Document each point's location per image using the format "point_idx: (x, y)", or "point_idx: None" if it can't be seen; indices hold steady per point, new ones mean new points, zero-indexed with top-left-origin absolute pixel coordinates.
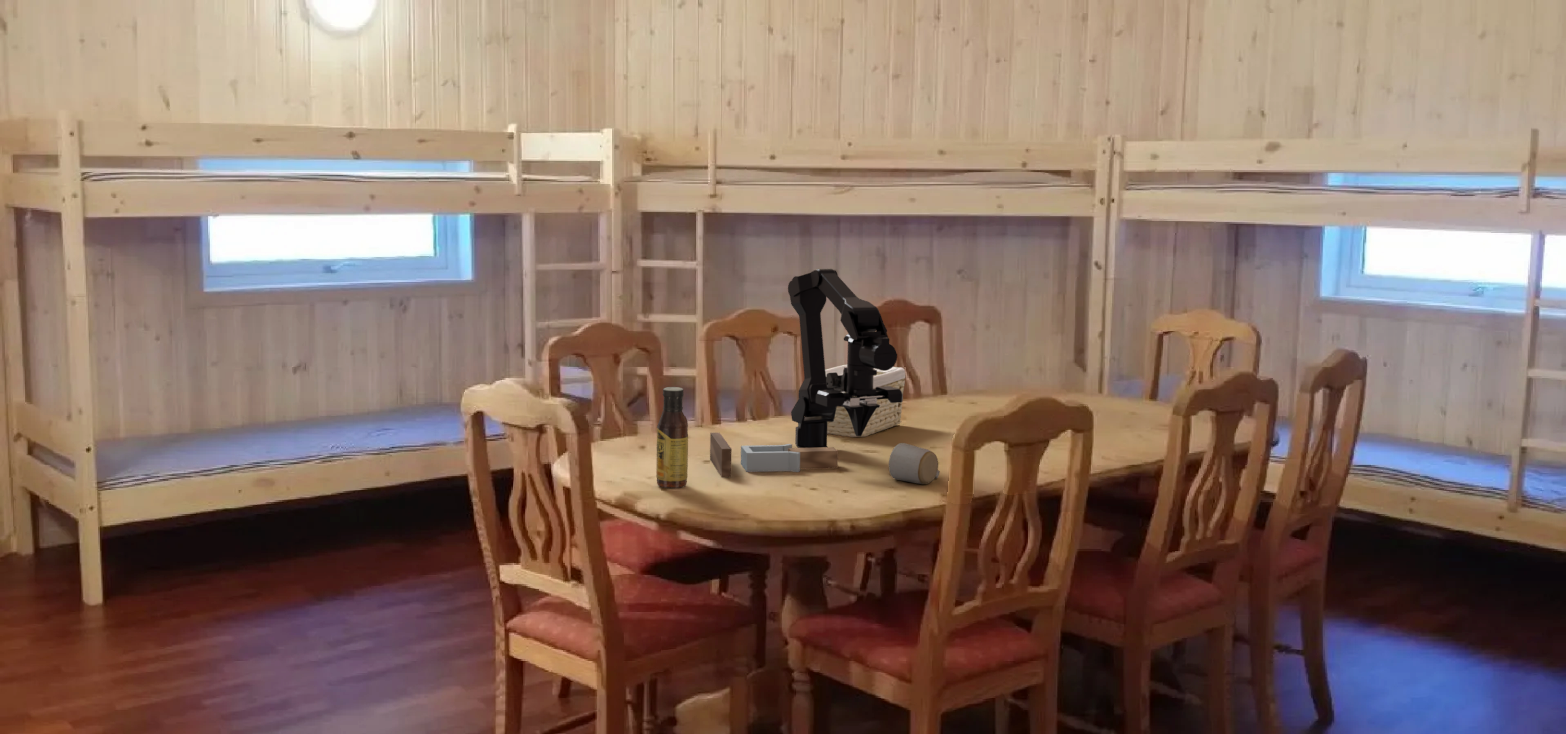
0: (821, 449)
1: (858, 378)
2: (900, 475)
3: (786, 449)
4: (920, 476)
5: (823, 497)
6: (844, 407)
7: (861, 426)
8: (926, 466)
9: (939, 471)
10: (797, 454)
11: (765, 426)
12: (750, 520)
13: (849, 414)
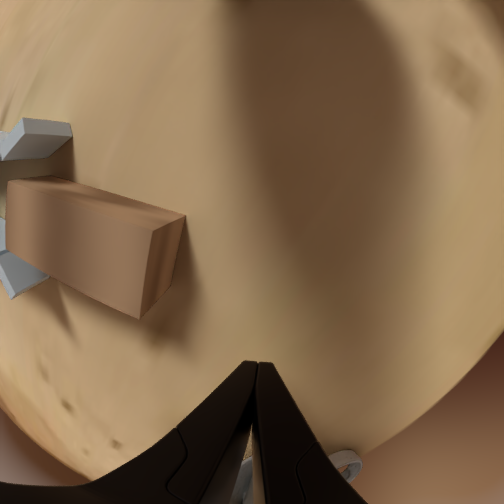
0: (83, 258)
1: None
2: (246, 480)
3: (18, 153)
4: None
5: (79, 439)
6: (34, 489)
7: (252, 450)
8: None
9: (350, 481)
10: (12, 297)
11: None
12: (19, 427)
13: (130, 475)
